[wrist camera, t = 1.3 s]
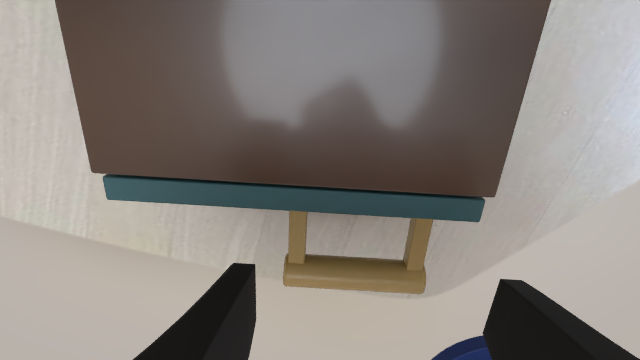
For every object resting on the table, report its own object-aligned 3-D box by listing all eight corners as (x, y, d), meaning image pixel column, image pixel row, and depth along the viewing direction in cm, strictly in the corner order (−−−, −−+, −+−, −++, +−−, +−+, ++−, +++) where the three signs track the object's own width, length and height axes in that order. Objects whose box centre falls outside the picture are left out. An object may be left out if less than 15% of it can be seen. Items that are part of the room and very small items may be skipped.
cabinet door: (401, 226, 20) (447, 340, 13) (205, 214, 20) (130, 321, 12) (417, 132, 18) (486, 200, 10) (198, 118, 18) (101, 176, 10)
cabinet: (418, 127, 18) (496, 198, 10) (198, 113, 18) (90, 173, 10) (458, -101, 14) (636, -293, 6) (179, -120, 14) (-20, -338, 6)
